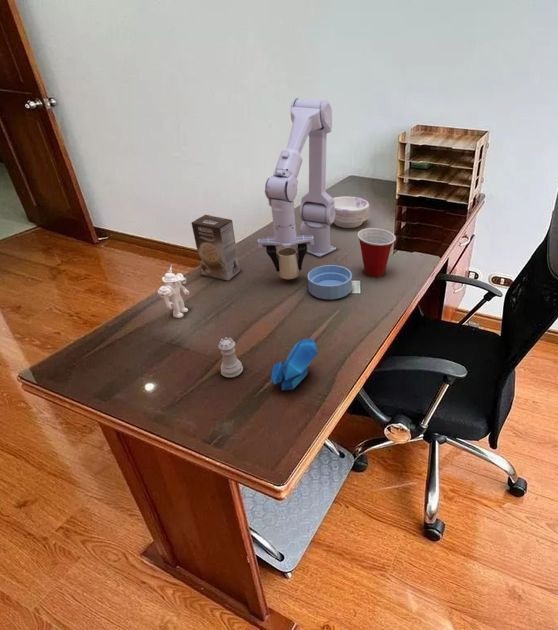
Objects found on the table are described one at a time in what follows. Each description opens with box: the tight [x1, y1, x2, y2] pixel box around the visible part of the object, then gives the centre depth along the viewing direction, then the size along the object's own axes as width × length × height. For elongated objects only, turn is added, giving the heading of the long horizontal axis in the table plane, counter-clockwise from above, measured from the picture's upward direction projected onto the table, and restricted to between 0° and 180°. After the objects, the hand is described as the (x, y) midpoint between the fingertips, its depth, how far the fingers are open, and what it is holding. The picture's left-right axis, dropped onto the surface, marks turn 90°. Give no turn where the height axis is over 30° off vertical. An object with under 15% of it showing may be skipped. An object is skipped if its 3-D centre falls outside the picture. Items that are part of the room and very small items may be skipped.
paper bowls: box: [332, 195, 370, 229], centre depth 158 cm, size 15×15×8 cm
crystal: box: [270, 338, 319, 391], centre depth 88 cm, size 7×9×12 cm
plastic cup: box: [357, 227, 396, 278], centre depth 126 cm, size 11×11×12 cm
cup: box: [276, 246, 300, 280], centre depth 121 cm, size 6×6×7 cm
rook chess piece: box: [217, 336, 244, 379], centre depth 89 cm, size 4×4×8 cm
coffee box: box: [191, 214, 241, 281], centre depth 122 cm, size 9×6×16 cm
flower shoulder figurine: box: [157, 264, 190, 319], centre depth 105 cm, size 9×4×12 cm, turn 169°
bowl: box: [306, 264, 353, 300], centre depth 119 cm, size 12×12×4 cm
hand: (288, 269), depth 122 cm, fingers closed on cup, 5 cm apart
